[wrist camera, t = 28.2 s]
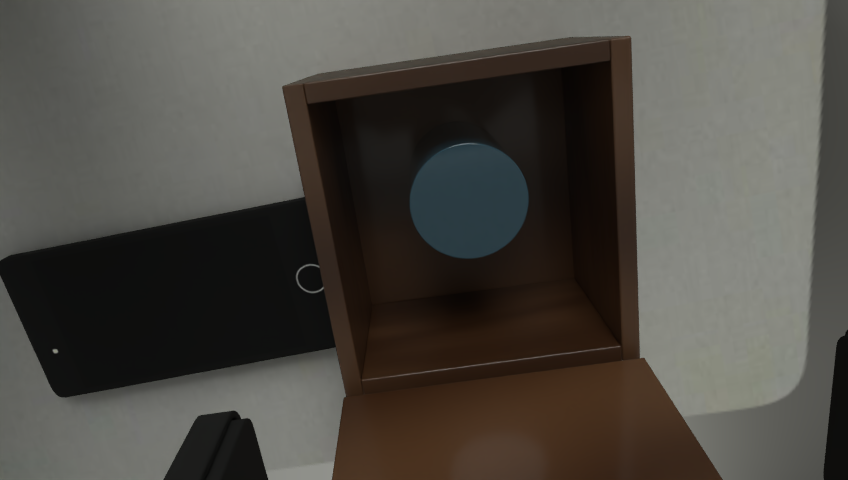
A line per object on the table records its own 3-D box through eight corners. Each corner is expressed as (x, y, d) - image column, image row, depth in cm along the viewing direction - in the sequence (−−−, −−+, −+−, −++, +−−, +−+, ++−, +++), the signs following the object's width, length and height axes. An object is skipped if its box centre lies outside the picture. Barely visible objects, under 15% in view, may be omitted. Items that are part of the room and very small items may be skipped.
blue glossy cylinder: (403, 128, 31) (401, 152, 24) (499, 114, 31) (523, 134, 24) (416, 220, 32) (418, 266, 26) (508, 207, 32) (533, 250, 26)
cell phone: (356, 336, 35) (355, 344, 34) (64, 391, 36) (55, 400, 35) (319, 193, 33) (316, 197, 32) (3, 255, 33) (-8, 261, 32)
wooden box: (316, 73, 31) (281, 86, 22) (571, 37, 30) (631, 35, 22) (361, 313, 35) (346, 398, 27) (585, 283, 35) (640, 359, 26)
